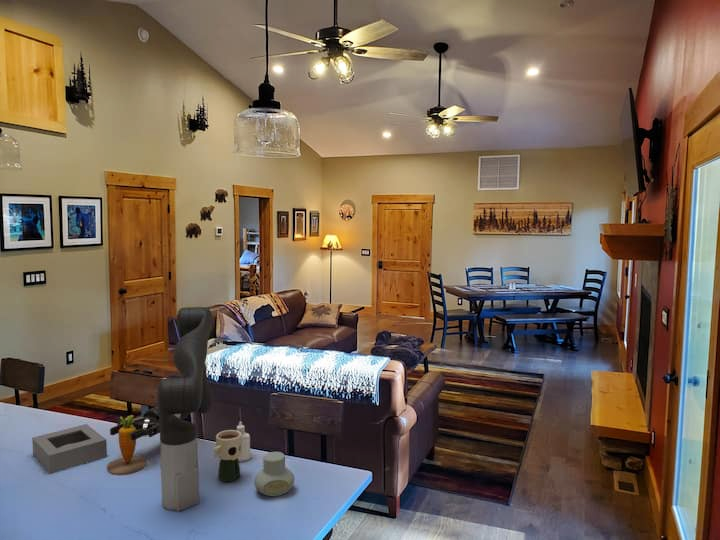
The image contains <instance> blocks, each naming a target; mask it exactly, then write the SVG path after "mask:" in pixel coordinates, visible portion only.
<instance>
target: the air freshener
mask: <svg viewBox="0 0 720 540" xmlns="http://www.w3.org/2000/svg"><path fill="white" fill-rule="evenodd" d="M262 459H263V463H262V464H263V468H262V469H261V470H260V471H258V473H256V474H255V477H254V481H253V484H254V487H255V488H256V490H257V491H258V492H259V493H261V494H263V495H265V496H269V497H270V496H271V497H279V496H281V495H283V494H285V493H288V492H289V491H290V490H291V489H292V488H293V485H294V484H295V474H294V473H293V471H292V470H291V469H289V468H288V467H286V455H285V454H284V453H283V452H281V451H270V452H267V453H266V454H265V455H264V456H263V458H262Z"/></svg>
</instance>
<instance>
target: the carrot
mask: <svg viewBox="0 0 720 540" xmlns="http://www.w3.org/2000/svg"><path fill="white" fill-rule="evenodd" d="M129 417H130V418H129ZM133 417H135V415H132V414H130V415H128V416H127V417H125V418H126V419H125V418H123V416H120V417H119V419H120V420H122V422H123V424H124V426H123V427H122V428H120V429H119V433H118V443H119V445H118V446H119V450H120V453H121V456H122V457H123V458H124V460H125V462H126V463H127V464H128V463H129V462H130V461H131V459H132V457H133V456H134V453H135V450H136V445H137V439H136V440H131V433H132V432H135V431H137V430H136V428H135V427H134V426H133V425H132V424H133V423H134V421H132V419H133ZM124 419H125V421H124ZM131 421H132V422H131ZM131 425H132V426H131Z"/></svg>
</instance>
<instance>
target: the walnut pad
mask: <svg viewBox="0 0 720 540" xmlns="http://www.w3.org/2000/svg"><path fill="white" fill-rule="evenodd" d="M147 465H148V460H147V458H146V457H145V456H142V455H133V457H132V459H131V461H130V462H129V463H128V464H127V463H126V462H125V460H124V458H123V456H122V457H120V458H119V457H118V458H117V459H114V460H112V461H111V462H109V463H108V464H107V472H108V473H109V474H110V473H111V475H115V476H124V475H131V474H134V473H137V472H140V471H141V470H144V469H145V468H146V467H147ZM144 467H145V468H144Z"/></svg>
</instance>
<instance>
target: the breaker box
mask: <svg viewBox="0 0 720 540" xmlns="http://www.w3.org/2000/svg"><path fill="white" fill-rule="evenodd" d="M31 441H32V455H33V456H34V457H35V459H36V460H37V461H38V462H39V463H40V464H41V466H42V467H43V466H44V467H45V468H44V467H43V468H44V469H45V470H46V471H47V473H49V474H50V475H51V474H54V472H55V473H58V472H60V470H62V471H64V470H63V469H65V470H67V468H68V469H72V468H74V466H75V467H78V466H82V465H84V463H85V464H87V462H88V463H92V462H95V461H99V460H101V459H105V458H108V450H107V446H108V445H107V439H106V438H105V437H103V436H102V435H101V434H100V433H99V432H97V431H96V430H95V429H93V428H92V427H91V426H90V425H89V424H87V423H86V424H82V425H78V426H72V427H69V428H66V429H61V430H57V431H53V432H49V433H45V434H41V435H36V436H33V437H32V439H31ZM73 443H74V444H73ZM67 444H70V445H67ZM64 445H67V446H64ZM61 446H63V447H61ZM91 461H92V462H91ZM81 464H82V465H81ZM77 465H78V466H77ZM71 467H72V468H71ZM57 471H58V472H57Z"/></svg>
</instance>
